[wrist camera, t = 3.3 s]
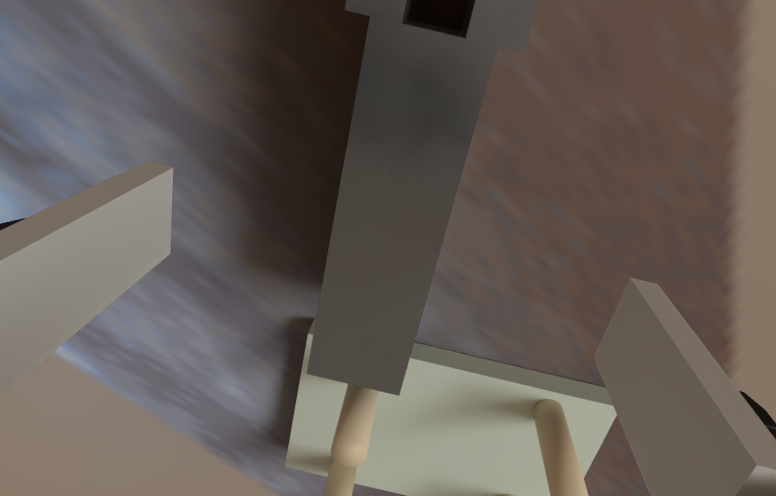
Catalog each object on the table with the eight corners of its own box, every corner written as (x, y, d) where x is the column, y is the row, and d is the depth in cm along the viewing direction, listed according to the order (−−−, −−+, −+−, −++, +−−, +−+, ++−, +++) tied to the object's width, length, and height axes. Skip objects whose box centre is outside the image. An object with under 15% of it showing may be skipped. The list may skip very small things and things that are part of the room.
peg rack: (291, 448, 33) (251, 559, 26) (314, 318, 29) (274, 412, 22) (551, 509, 33) (578, 638, 26) (612, 389, 29) (663, 505, 22)
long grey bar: (424, 312, 28) (417, 400, 22) (323, 289, 28) (287, 369, 22) (523, -38, 21) (556, -60, 15) (388, -70, 21) (362, -105, 15)
